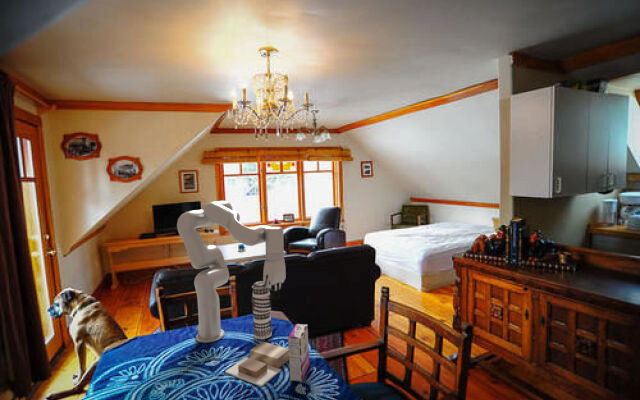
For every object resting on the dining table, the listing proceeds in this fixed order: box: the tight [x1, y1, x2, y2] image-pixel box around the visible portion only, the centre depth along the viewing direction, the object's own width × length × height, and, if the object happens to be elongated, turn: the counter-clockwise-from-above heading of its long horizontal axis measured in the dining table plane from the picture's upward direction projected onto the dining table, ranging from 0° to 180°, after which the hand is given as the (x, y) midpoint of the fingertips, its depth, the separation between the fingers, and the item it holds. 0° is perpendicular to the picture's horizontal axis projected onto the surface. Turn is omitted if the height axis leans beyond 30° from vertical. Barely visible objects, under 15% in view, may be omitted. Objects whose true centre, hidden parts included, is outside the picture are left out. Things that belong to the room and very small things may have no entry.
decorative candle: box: [250, 280, 273, 340], centre depth 155 cm, size 9×9×25 cm
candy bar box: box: [287, 323, 310, 383], centre depth 124 cm, size 11×5×16 cm, turn 168°
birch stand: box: [249, 341, 289, 369], centre depth 134 cm, size 14×8×4 cm, turn 59°
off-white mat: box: [225, 357, 282, 388], centre depth 126 cm, size 18×11×1 cm, turn 59°
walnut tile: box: [238, 357, 267, 379], centre depth 125 cm, size 9×6×2 cm, turn 59°
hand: (275, 298), depth 141 cm, fingers closed
